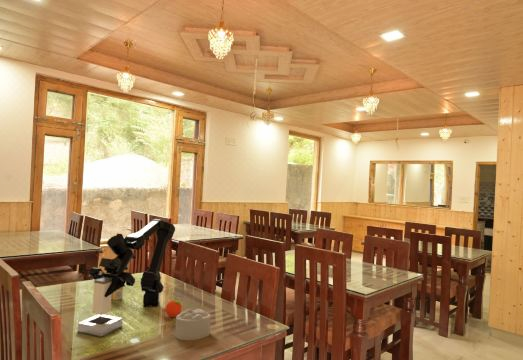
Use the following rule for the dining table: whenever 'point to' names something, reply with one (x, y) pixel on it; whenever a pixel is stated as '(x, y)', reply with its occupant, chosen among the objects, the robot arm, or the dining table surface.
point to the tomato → (173, 308)
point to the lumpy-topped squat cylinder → (192, 324)
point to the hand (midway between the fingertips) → (99, 295)
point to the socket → (100, 325)
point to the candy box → (117, 294)
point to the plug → (101, 296)
